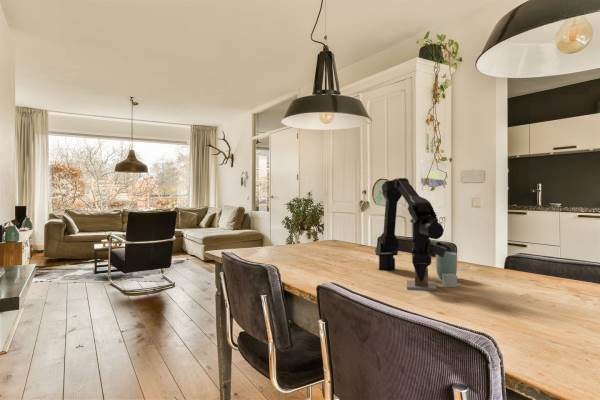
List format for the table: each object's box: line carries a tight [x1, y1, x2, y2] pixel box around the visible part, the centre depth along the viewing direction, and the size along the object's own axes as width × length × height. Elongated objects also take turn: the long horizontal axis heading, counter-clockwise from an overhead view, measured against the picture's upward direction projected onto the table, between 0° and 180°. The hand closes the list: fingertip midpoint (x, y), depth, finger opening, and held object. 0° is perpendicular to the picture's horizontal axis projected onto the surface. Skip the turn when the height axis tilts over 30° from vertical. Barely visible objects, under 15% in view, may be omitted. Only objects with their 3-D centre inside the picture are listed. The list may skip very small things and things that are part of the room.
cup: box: [435, 251, 458, 279], centre depth 144 cm, size 8×8×10 cm
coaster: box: [406, 280, 438, 292], centre depth 133 cm, size 10×10×1 cm
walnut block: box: [414, 266, 429, 286], centre depth 132 cm, size 4×4×6 cm
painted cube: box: [441, 274, 458, 288], centre depth 133 cm, size 4×4×4 cm
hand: (421, 278), depth 133 cm, fingers open, 8 cm apart
